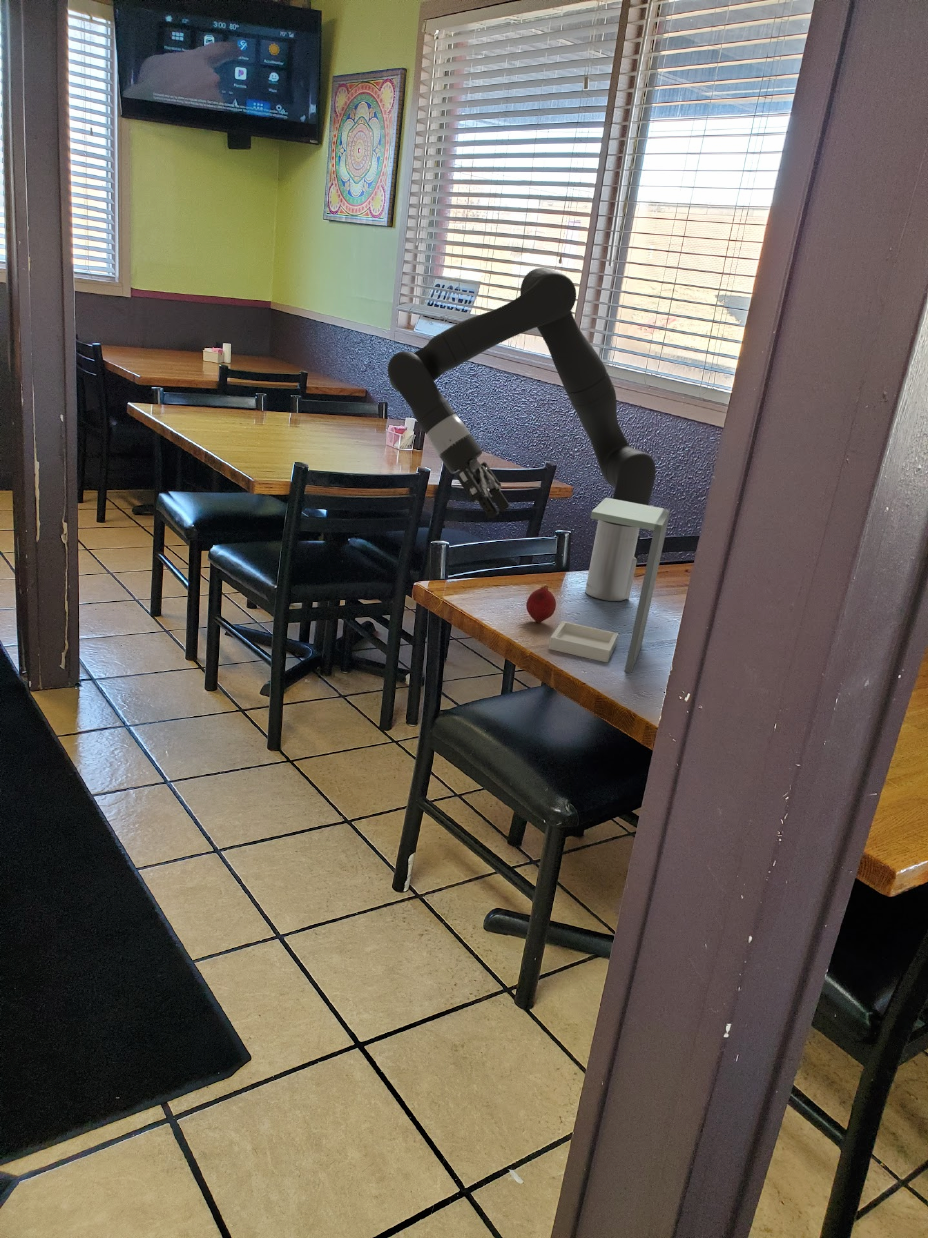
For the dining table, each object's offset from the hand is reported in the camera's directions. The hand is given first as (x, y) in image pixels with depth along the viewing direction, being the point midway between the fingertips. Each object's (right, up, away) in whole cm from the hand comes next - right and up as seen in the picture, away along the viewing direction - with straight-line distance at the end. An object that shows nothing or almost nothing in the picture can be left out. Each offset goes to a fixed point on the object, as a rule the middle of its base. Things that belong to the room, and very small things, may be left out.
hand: (500, 512), depth 182 cm
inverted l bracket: (+19, -27, -8) cm, 34 cm away
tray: (+15, -26, -7) cm, 31 cm away
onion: (+8, -22, +3) cm, 23 cm away
